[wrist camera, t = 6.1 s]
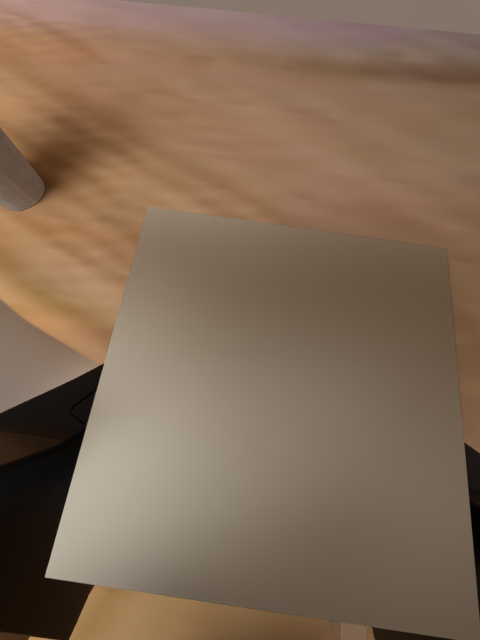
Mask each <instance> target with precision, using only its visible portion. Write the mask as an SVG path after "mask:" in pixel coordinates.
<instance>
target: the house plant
mask: <svg viewBox="0 0 480 640" xmlns="http://www.w3.org/2000/svg"><path fill="white" fill-rule="evenodd" d="M44 190H45V186H44V182H43V180H42V179H41V178H40V176H39V175H38V174H37V173H36V171H35V170H34V169H33V168H32V166H31V165H30V164H29V163H28V161H27V160H26V159H25V158H24V156H23V155H22V154H21V153H20V151H19V150H18V149H17V148H16V146H15V145H14V144H13V143H12V141H11V140H10V139H9V138H8V136H7V135H6V134H5V133H4V131H3V130H2V129H1V128H0V205H1V206H3V207H5V208H7V209H9V210H13V211H21V210H24V209H27V208H29V207H32V206H33V205H35V204H37V203H38V202H39V201H40V200H41V198H42V196H43V194H44Z"/></svg>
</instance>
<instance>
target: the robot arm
mask: <svg viewBox="0 0 480 640" xmlns="http://www.w3.org/2000/svg"><path fill="white" fill-rule="evenodd" d="M103 366H104V364H102V365H100V366H98V367H96V368H95V369H93V370H91V371H89V372H87V373H85V374H83V375H81V376H79V377H77V378H75V379H73V380H71V381H69V382H67V383H65V384H62V385H61V386H59V387H56V388H54V389H52V390H50V391H48V392H45V393H43V394H41V395H39V396H37V397H34V398H32V399H30V400H28V401H26V402H24V403H21V404H19V405H17V406H15V407H13V408H11V409H8V410H6V411H4V412H2V413H0V640H28V639H29V638H30V636H31V637H39V638H46V639H54V640H69V638H70V636H71V634H72V632H73V630H74V627H75V625H76V623H77V621H78V618H79V616H80V614H81V611H82V609H83V607H84V605H85V602H86V600H87V598H88V595H89V593H90V591H91V589H92V586H93V585H92V584H85V583H79V582H72V581H65V580H59V579H52V578H46V577H45V574H46V571H47V567H48V564H49V560H50V556H51V553H52V549H53V546H54V542H55V539H56V535H57V531H58V528H59V524H60V521H61V517H62V513H63V510H64V506H65V503H66V499H67V495H68V492H69V488H70V485H71V481H72V477H73V474H74V470H75V467H76V463H77V460H78V456H79V452H80V449H81V445H82V442H83V438H84V434H85V431H86V427H87V424H88V420H89V416H90V413H91V409H92V406H93V402H94V399H95V395H96V391H97V388H98V384H99V381H100V377H101V373H102V370H103ZM464 446H465V457H466V469H467V480H468V491H469V503H470V514H471V526H472V537H473V549H474V560H475V572H476V583H477V595H478V606H479V617H480V453H478V452H477V451H475V450H474V449H473V448H471V447H470V446H468V445H467V444H466V443H464ZM372 629H373V633H374V637H375V640H455V639H448V638H441V637H435V636H428V635H422V634H415V633H408V632H402V631H395V630H389V629H382V628H375V627H372Z"/></svg>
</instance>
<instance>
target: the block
mask: <svg viewBox="0 0 480 640" xmlns="http://www.w3.org/2000/svg"><path fill="white" fill-rule="evenodd" d="M45 577H46V578H52V579H59V580H65V581H72V582H79V583H85V584H92V585H98V586H105V587H112V588H118V589H125V590H131V591H138V592H144V593H151V594H158V595H164V596H171V597H177V598H184V599H191V600H197V601H204V602H210V603H217V604H224V605H230V606H237V607H243V608H250V609H257V610H263V611H270V612H276V613H283V614H290V615H296V616H303V617H309V618H316V619H323V620H329V621H336V622H342V623H349V624H356V625H362V626H369V627H375V628H382V629H389V630H395V631H402V632H408V633H415V634H422V635H428V636H435V637H441V638H448V639H455V640H480V617H479V606H478V595H477V583H476V572H475V560H474V549H473V537H472V526H471V514H470V503H469V491H468V480H467V469H466V457H465V446H464V434H463V423H462V411H461V400H460V388H459V377H458V365H457V354H456V342H455V331H454V320H453V308H452V297H451V285H450V274H449V262H448V251H447V248H441V247H434V246H427V245H419V244H412V243H405V242H398V241H391V240H384V239H376V238H369V237H362V236H355V235H348V234H341V233H334V232H326V231H319V230H312V229H305V228H298V227H291V226H284V225H276V224H269V223H262V222H255V221H248V220H241V219H234V218H226V217H219V216H212V215H205V214H198V213H191V212H184V211H176V210H169V209H162V208H155V207H148V208H147V212H146V215H145V219H144V223H143V226H142V230H141V233H140V237H139V241H138V244H137V248H136V251H135V255H134V259H133V262H132V266H131V269H130V273H129V276H128V280H127V284H126V287H125V291H124V294H123V298H122V302H121V305H120V309H119V312H118V316H117V320H116V323H115V327H114V330H113V334H112V338H111V341H110V345H109V348H108V352H107V355H106V359H105V363H104V366H103V370H102V373H101V377H100V381H99V384H98V388H97V391H96V395H95V399H94V402H93V406H92V409H91V413H90V416H89V420H88V424H87V427H86V431H85V434H84V438H83V442H82V445H81V449H80V452H79V456H78V460H77V463H76V467H75V470H74V474H73V477H72V481H71V485H70V488H69V492H68V495H67V499H66V503H65V506H64V510H63V513H62V517H61V521H60V524H59V528H58V531H57V535H56V539H55V542H54V546H53V549H52V553H51V556H50V560H49V564H48V567H47V571H46V574H45Z"/></svg>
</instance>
